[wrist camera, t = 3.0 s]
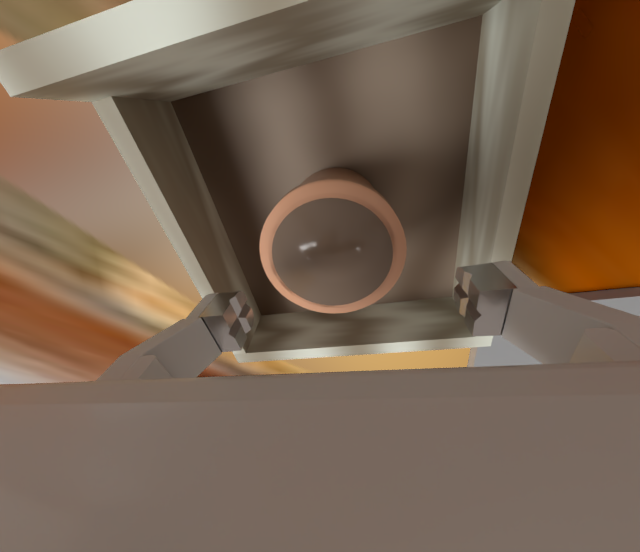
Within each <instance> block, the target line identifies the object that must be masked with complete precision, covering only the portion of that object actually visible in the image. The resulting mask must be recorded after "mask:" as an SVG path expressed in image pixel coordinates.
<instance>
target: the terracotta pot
mask: <svg viewBox="0 0 640 552" xmlns="http://www.w3.org/2000/svg"><path fill="white" fill-rule="evenodd" d="M406 251H407V246H406V238H405V234H404V230H403V228H402V225H401V223H400V221H399V219H398V217H397V215H396V213H395V212H394V210H393V208H392V207H391V205H390V204H389V202H388V201H387V200H386V199H385V198H384V197H383V196H382V195H381V194H380V193H379V192H378V191H376V190H375V189H374V188H373V186H372V185H371V184H370V182H369V181H368V180H367V179H365V178H364V177H363V176H362V175H360V174H359V173H357V172H354V171H352V170H349V169H345V168H327V169H323V170H320V171H318V172H315V173H314V174H312V175H310V176H309V177H308V178H306V179H305V180H304V181H303V182H302V183H301V184H300V185H298V186H296V187H295V188H293V189H292V190H290V191H289V192H288V193H287V194H285V195H284V197H283V198H282V199H281V200H280V201H279V202H278V203H277V205H276V206H275V207H274V209H273V210H272V211H271V213H270V214H269V216H268V217H267V219H266V221H265V223H264V226H263V229H262V232H261V236H260V258H261V262H262V265H263V268H264V271H265V273H266V275H267V277H268V278H269V280H270V282H271V283H272V284H273V286H274V287H275V288H276V289H277V290H278V291H279V292H280V293H281V294H282V295H283V296H285V297H286V298H287V299H288V300H290V301H292V302H293V303H295V304H297V305H299V306H301V307H303V308H306V309H309V310H312V311H316V312H322V313H333V314H335V313H347V312H352V311H356V310H359V309H362V308H365V307H367V306H369V305H371V304H373V303H375V302H376V301H378V300H379V299H381V298H382V297H383V296H384V295H386V294H387V293H388V292H389V291H390V290H391V289H392V287H393V286H394V285H395V283H396V282H397V280H398V279H399V277H400V275H401V273H402V270H403V268H404V264H405V260H406Z"/></svg>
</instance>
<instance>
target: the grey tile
mask: <svg viewBox="0 0 640 552" xmlns="http://www.w3.org/2000/svg"><path fill="white" fill-rule="evenodd" d="M569 294H571V295H574V296H577V297H580V298H583V299H587V300H590V301H593V302H596V303H599V304H602V305H605V306H608V307H611V308H614V309H618V310H621V311H624V312H627V313H630V314H633V315H636V316H640V287H633V288H623V289H612V290H601V291H591V292H580V293H569ZM533 364H542V363H541V362H539V361H538V360H536V359H535V358H533V357H532V356H530V355H529V354H527V353H526V352H524V351H523V350H521V349H520V348H518V347H517V346H515V345H513V344H512V343H510V342H509V341H507V340H506V339H504V338H503V337H502V335H499V336H493V339H492V343H491V346H487V347H472V348H471V349H470V356H469V360H468V366H467V367H486V366H509V365H533Z"/></svg>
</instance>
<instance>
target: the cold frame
mask: <svg viewBox="0 0 640 552" xmlns="http://www.w3.org/2000/svg"><path fill="white" fill-rule="evenodd" d="M574 4H575V0H133V1H131V2H128V3H125V4H122V5H120V6H117V7H114V8H112V9H109V10H106V11H104V12H101V13H98V14H95V15H93V16H90V17H87V18H85V19H82V20H79V21H77V22H74V23H71V24H69V25H66V26H63V27H60V28H58V29H55V30H52V31H50V32H47V33H44V34H42V35H39V36H36V37H33V38H31V39H28V40H25V41H23V42H20V43H17V44H15V45H12V46H9V47H7V48H4V49H1V50H0V82H1V84H2V85H3V87H4V88H5V89H6V91H7V92H8V94H9V95H10V97H22V98H36V99H53V100H69V101H84V102H92V104H93V105H94V107H95V109H96V111H97V113H98V114H99V116H100V118H101V120H102V122H103V123H104V125H105V127H106V129H107V131H108V132H109V134H110V136H111V138H112V139H113V141H114V143H115V145H116V147H117V148H118V150H119V152H120V154H121V155H122V157H123V159H124V161H125V162H126V164H127V166H128V168H129V170H130V171H131V173H132V175H133V177H134V178H135V180H136V182H137V184H138V185H139V187H140V189H141V191H142V193H143V194H144V196H145V198H146V200H147V201H148V203H149V205H150V207H151V208H152V210H153V212H154V214H155V215H156V217H157V219H158V221H159V223H160V224H161V226H162V228H163V230H164V232H165V233H166V235H167V237H168V239H169V240H170V242H171V244H172V245H173V247H174V249H175V251H176V253H177V255H178V256H179V258H180V260H181V262H182V263H183V265H184V267H185V269H186V271H187V272H188V274H189V276H190V277H191V279H192V281H193V283H194V285H195V286H196V288H197V290H198V292H199V294H200V295H201V297H202V299H203V298H204V297H205V295H208V294H213V293H223V292H234V291H242V292H244V293H245V295H246V297H247V302H246V304H247V305H248V306H250V307H251V308H252V311H253V314H254V324H253V326H252V329H251V330H250V331H249V332H247V333H246V336H247V339H246V341H245V343H244V345H243V347H242V350H239V351H232V352H233V354H234V356H235V357H236V359H237V361H238V363H241V362H256V361H272V360H287V359H303V358H316V357H317V358H318V357H333V356H349V355H363V354H380V353H394V352H410V351H426V350H441V349H455V348H472V347H487V346H491V343H492V339H493V336H472V335H471V333H470V331H469V330H468V328H467V326H466V325H465V323H464V320H465V316H463V315H461V314H459V312H458V310H457V308H456V305H455V302H454V288H455V287H456V285H457V284H458V281H457V280H456V278H455V275H456V270H457V267H463V266H470V265H478V264H485V263H492V262H499V261H510V262H512V257H513V253H514V249H515V245H516V241H517V237H518V233H519V229H520V225H521V221H522V217H523V213H524V208H525V204H526V200H527V196H528V192H529V188H530V184H531V180H532V176H533V172H534V168H535V164H536V159H537V155H538V151H539V147H540V143H541V139H542V135H543V131H544V127H545V123H546V119H547V115H548V110H549V106H550V102H551V98H552V94H553V90H554V86H555V82H556V78H557V74H558V70H559V66H560V61H561V57H562V53H563V49H564V45H565V41H566V37H567V33H568V29H569V25H570V21H571V17H572V12H573V8H574ZM327 168H345V169H349V170H352V171H354V172H357V173H359V174H360V175H362V176H363V177H364V178H365V179H367V180H368V181H369V182H370V184H371V185H372V186H373V188H374V189H375V190H376V191H378V192H379V193H380V194H381V195H382V196H383V197H384V198H385V199H386V200H387V201H388V202H389V204H390V205H391V207H392V208H393V210H394V212H395V213H396V215H397V217H398V219H399V221H400V223H401V225H402V228H403V230H404V234H405V238H406V246H407V251H406V260H405V264H404V268H403V270H402V273H401V275H400V277H399V279H398V280H397V282H396V283H395V285H394V286H393V287H392V289H391V290H390V291H389V292H388V293H387V294H386V295H384V296H383V297H382V298H381V299H379V300H378V301H376V302H375V303H373V304H371V305H369V306H367V307H365V308H362V309H359V310H356V311H352V312H347V313H335V314H333V313H322V312H316V311H312V310H309V309H306V308H303V307H301V306H299V305H297V304H295V303H293V302H292V301H290V300H288V299H287V298H286V297H285V296H283V295H282V294H281V293H280V292H279V291H278V290H277V289H276V288H275V287H274V286H273V284H272V283H271V282H270V280H269V278H268V277H267V275H266V273H265V271H264V268H263V265H262V262H261V258H260V236H261V232H262V229H263V226H264V223H265V221H266V219H267V217H268V216H269V214H270V213H271V211H272V210H273V209H274V207H275V206H276V205H277V203H278V202H279V201H280V200H281V199H282V198H283V197H284V195H285V194H287V193H288V192H289V191H290V190H292V189H293V188H295V187H296V186H298V185H300V184H301V183H302V182H303V181H304V180H305V179H306V178H308V177H309V176H310V175H312V174H314V173H315V172H318V171H320V170H323V169H327Z"/></svg>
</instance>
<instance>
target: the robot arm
mask: <svg viewBox="0 0 640 552" xmlns="http://www.w3.org/2000/svg"><path fill="white" fill-rule="evenodd" d="M455 278H456V280H457V281H458V284H457V285H456V287H455V288H454V302H455V305H456V308H457V310H458V312H459V314H461V315H463V316H465V320H464V323H465V325H466V326H467V328H468V330H469V331H470V333H471V335H472V336H499V335H502V337H503V338H504V339H506V340H507V341H509V342H510V343H512V344H513V345H515V346H517V347H518V348H520V349H521V350H523V351H524V352H526V353H527V354H529V355H530V356H532V357H533V358H535V359H536V360H538V361H539V362H541V363H542V364H533V365H509V366H486V367H459V368H433V369H404V370H378V371H350V372H325V373H300V374H275V375H249V376H222V377H197V376H198V375H199V374H200V373H201V372H202V371H203V370H204V369H206V368H207V367H208V366H209V365H210V364H211V363H212V362H213V361H214V360H215V359H216V358H217V357H218V356H219V355H220V354H221V352H228V351H239V350H242V347H243V345H244V343H245V341H246V339H247V336H246V333H247V332H249V331H250V330H251V329H252V326H253V324H254V314H253V311H252V308H251V307H250V306H248V305H247V304H246V302H247V297H246V295H245V293H244V292H242V291H234V292H223V293H213V294H208V295H205V297H204V298H203V299H202V300H201V301H200V303H199V304H198V305H197V306H196V307H195V308H194V310H193V311H192V312H191V313H190V314H189V316H188V317H187V318H186V319H182V320H180V321H179V322H177V323H175V324H173V325H172V326H170V327H168V328H167V329H165V330H163V331H162V332H160V333H158V334H157V335H155V336H153V337H151V338H150V339H148V340H146V341H145V342H143V343H141V344H140V345H138V346H136V347H135V348H133V349H131V350H130V351H128V352H126V353H124V354H123V355H121V356H120V357H119V358H118V359H117V360H116V361H115V362H114V363H113V364H112V365H111V366H110V367H109V368H108V369H107V370H106V371H105V372H104V373H103V374H102V375H101V376H100V377H99V378H98V379H97V380H96V381H90V382H63V383H36V384H2V385H0V552H640V317H639V316H636V315H633V314H630V313H627V312H624V311H621V310H618V309H614V308H611V307H608V306H605V305H602V304H599V303H596V302H593V301H590V300H587V299H583V298H580V297H577V296H574V295H571V294H568V293H565V292H562V291H559V290H555V289H552V288H549V287H546V286H541V287H539V286H538V285H537V284H536V283H534V282H533V281H532V280H531V279H530V278H529V277H527V276H526V275H525V274H524V273H523V272H522V271H521V270H519V269H518V268H517V267H516V266H515V265H514V264H512V263H511V262H510V261H499V262H492V263H485V264H478V265H470V266H463V267H457V270H456V275H455Z"/></svg>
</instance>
